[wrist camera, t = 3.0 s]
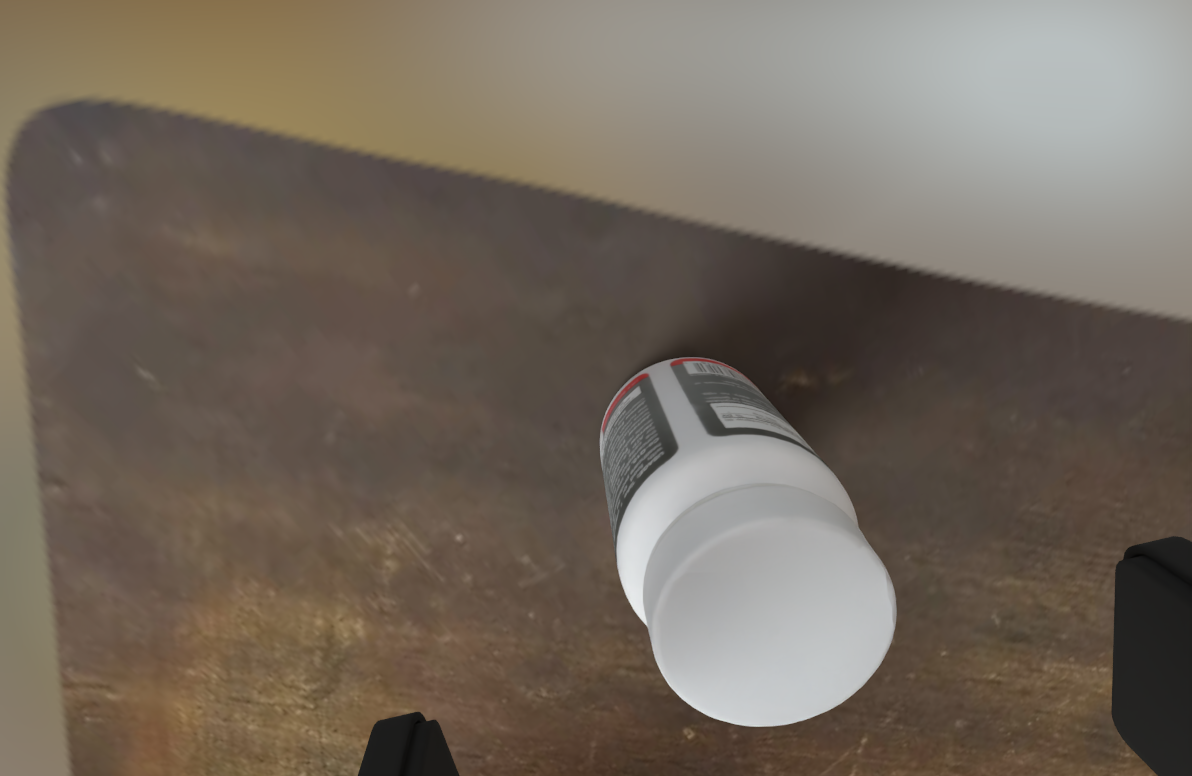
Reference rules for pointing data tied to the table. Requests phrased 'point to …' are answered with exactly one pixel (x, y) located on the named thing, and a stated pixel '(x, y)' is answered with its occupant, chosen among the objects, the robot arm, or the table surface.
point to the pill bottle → (739, 548)
